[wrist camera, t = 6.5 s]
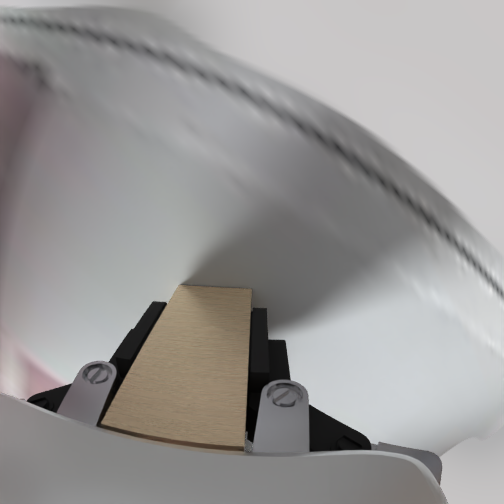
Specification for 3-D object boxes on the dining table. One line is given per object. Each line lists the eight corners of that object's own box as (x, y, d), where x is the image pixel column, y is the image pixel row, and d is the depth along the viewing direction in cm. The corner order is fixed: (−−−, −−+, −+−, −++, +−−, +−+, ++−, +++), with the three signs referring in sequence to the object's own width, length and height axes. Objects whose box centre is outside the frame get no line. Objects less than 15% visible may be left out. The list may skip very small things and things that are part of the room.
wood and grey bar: (178, 284, 13) (101, 423, 5) (251, 288, 13) (244, 446, 5) (209, 506, 20) (202, 569, 12) (242, 508, 20) (239, 573, 12)
